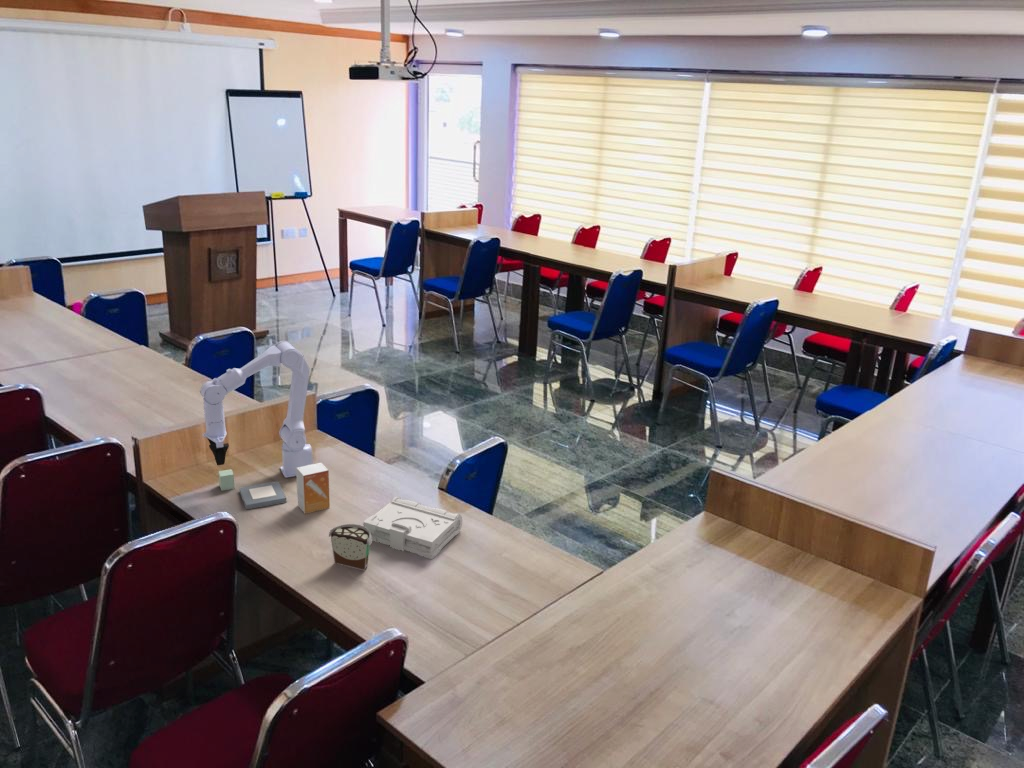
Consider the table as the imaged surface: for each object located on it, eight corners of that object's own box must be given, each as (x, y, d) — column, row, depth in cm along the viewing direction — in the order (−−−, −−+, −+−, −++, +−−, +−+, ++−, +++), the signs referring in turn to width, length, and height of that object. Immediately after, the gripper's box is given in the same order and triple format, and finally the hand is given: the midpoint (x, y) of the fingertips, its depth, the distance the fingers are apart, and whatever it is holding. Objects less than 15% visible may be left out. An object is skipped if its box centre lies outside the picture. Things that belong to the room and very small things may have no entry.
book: (384, 508, 259) (384, 486, 256) (464, 530, 248) (465, 508, 245) (347, 537, 242) (346, 514, 240) (431, 563, 231) (431, 539, 229)
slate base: (278, 485, 269) (278, 480, 268) (286, 502, 259) (286, 497, 258) (239, 491, 264) (239, 487, 263) (246, 509, 254) (246, 504, 253)
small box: (304, 514, 252) (302, 475, 248) (297, 505, 257) (295, 467, 253) (330, 508, 257) (328, 469, 252) (322, 499, 261) (321, 461, 257)
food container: (380, 560, 231) (380, 528, 227) (370, 571, 225) (369, 539, 222) (341, 550, 234) (340, 519, 231) (329, 562, 229) (328, 530, 225)
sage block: (232, 483, 269) (231, 469, 267) (234, 488, 266) (233, 474, 264) (219, 485, 267) (218, 471, 266) (221, 490, 264) (220, 476, 262)
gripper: (198, 412, 263) (202, 452, 268) (204, 430, 251) (208, 471, 256) (221, 409, 266) (225, 448, 271) (228, 427, 254) (232, 467, 259)
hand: (218, 459), depth 263 cm, fingers open, 7 cm apart
